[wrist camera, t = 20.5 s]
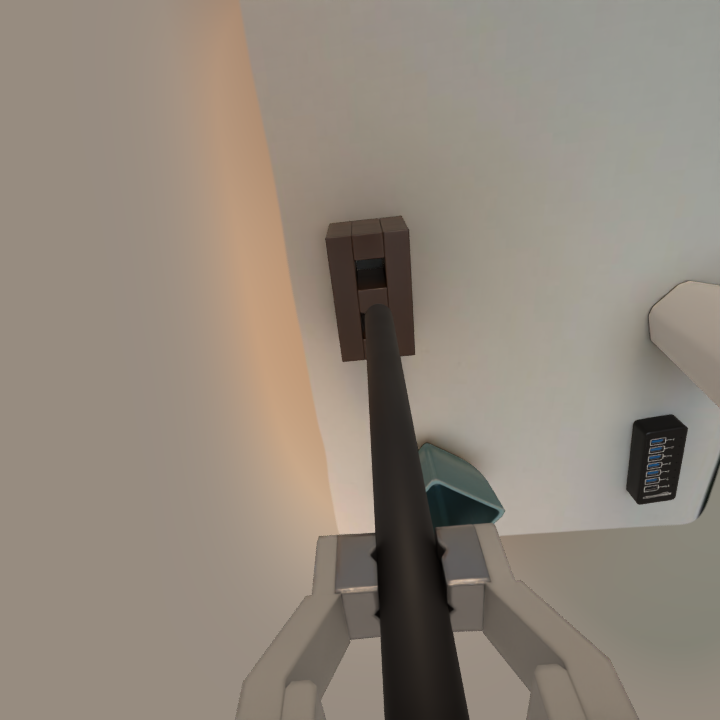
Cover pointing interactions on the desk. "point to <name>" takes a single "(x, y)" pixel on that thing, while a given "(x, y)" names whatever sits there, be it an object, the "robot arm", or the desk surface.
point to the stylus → (406, 549)
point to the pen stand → (370, 280)
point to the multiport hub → (656, 458)
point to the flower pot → (456, 490)
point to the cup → (691, 333)
